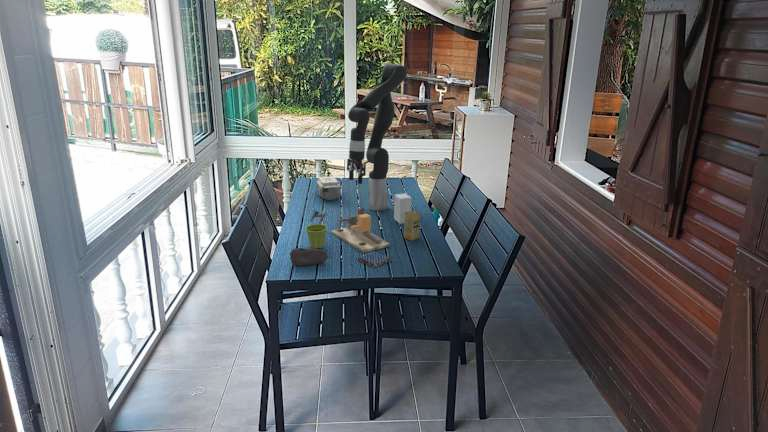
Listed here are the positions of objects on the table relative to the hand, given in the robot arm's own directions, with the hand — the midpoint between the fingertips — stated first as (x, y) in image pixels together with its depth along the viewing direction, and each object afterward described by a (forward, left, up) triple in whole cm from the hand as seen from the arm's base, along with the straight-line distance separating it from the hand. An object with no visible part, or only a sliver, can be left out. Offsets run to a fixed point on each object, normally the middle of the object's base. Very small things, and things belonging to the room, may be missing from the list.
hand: (355, 181), depth 254 cm
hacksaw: (+17, -6, -19) cm, 26 cm away
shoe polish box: (-7, +38, -19) cm, 43 cm away
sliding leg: (+13, +26, -16) cm, 34 cm away
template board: (+14, +27, -19) cm, 36 cm away
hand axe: (+1, 0, -19) cm, 19 cm away
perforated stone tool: (+45, +39, -19) cm, 63 cm away
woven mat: (+21, +50, -19) cm, 58 cm away
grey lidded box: (-6, -41, -19) cm, 45 cm away
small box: (-17, +17, -19) cm, 31 cm away
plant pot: (+34, +24, -19) cm, 46 cm away
